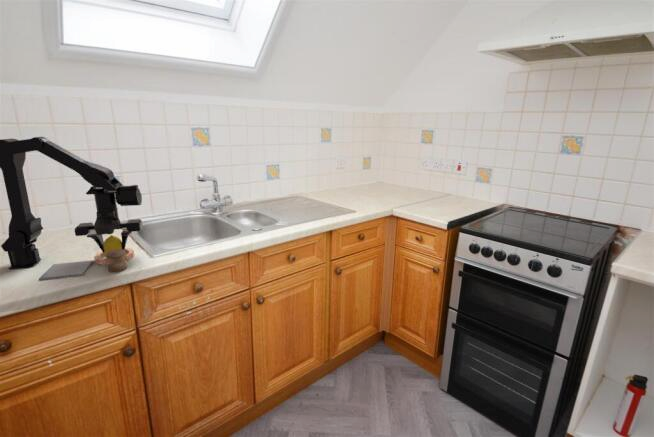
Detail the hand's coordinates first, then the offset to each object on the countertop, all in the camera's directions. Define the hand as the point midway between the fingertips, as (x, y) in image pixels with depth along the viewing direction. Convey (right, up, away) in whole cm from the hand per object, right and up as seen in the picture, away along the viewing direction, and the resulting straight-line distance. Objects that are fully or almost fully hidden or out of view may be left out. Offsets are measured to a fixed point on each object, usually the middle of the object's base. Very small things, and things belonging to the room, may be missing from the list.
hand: (114, 251), depth 120 cm
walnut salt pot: (+6, -5, -8) cm, 12 cm away
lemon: (0, -2, +1) cm, 2 cm away
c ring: (0, -2, +1) cm, 2 cm away
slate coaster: (-8, -5, -10) cm, 14 cm away
